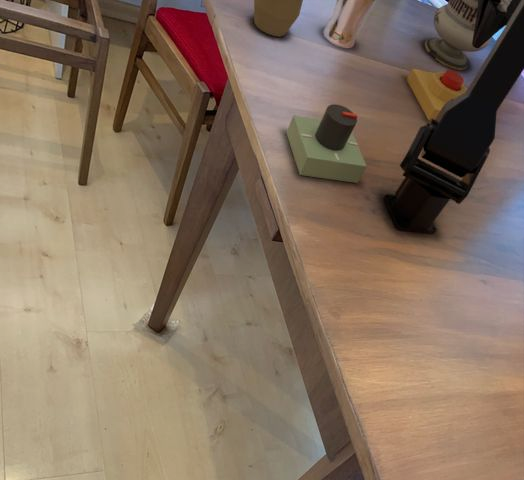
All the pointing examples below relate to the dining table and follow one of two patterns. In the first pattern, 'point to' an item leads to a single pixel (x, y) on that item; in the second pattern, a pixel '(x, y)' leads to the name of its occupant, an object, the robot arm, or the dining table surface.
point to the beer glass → (346, 21)
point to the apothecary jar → (454, 33)
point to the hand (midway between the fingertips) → (475, 46)
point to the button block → (431, 91)
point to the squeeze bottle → (276, 15)
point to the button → (452, 80)
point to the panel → (323, 153)
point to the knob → (336, 127)
